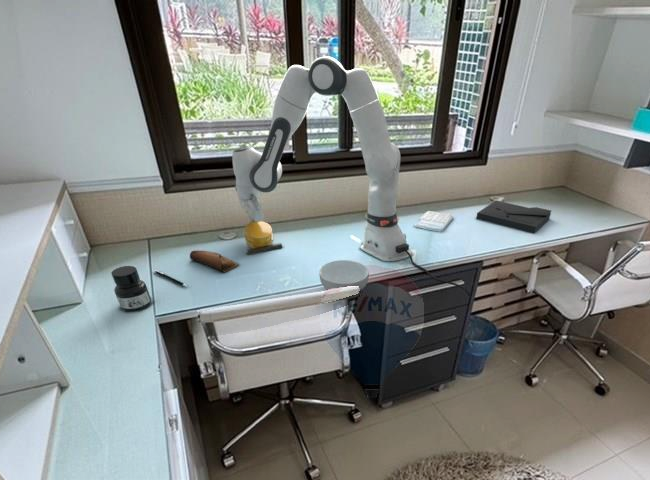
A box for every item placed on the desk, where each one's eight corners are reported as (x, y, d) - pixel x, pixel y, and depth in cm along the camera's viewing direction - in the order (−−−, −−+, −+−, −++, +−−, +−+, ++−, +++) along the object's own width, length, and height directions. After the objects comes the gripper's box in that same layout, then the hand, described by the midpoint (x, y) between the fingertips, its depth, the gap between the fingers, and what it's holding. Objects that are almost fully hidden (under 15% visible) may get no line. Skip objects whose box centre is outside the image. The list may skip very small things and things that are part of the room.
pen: (155, 271, 147) (154, 268, 146) (188, 286, 138) (187, 284, 138) (153, 272, 146) (152, 269, 146) (186, 287, 138) (185, 285, 137)
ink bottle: (118, 314, 124) (104, 280, 117) (120, 300, 131) (106, 267, 124) (153, 308, 128) (141, 274, 120) (153, 294, 134) (141, 262, 127)
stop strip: (282, 247, 166) (281, 244, 165) (248, 254, 160) (247, 251, 159) (280, 246, 167) (280, 242, 166) (247, 253, 161) (246, 249, 160)
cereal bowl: (350, 307, 131) (350, 288, 126) (310, 292, 138) (308, 274, 133) (377, 285, 142) (378, 267, 138) (339, 273, 149) (338, 255, 145)
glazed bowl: (277, 246, 166) (277, 235, 162) (250, 251, 162) (249, 241, 157) (267, 229, 172) (267, 218, 167) (241, 233, 167) (240, 223, 162)
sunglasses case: (240, 263, 152) (230, 252, 147) (229, 278, 150) (219, 267, 145) (207, 251, 160) (197, 241, 154) (197, 265, 158) (186, 255, 152)
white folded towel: (453, 218, 197) (453, 214, 196) (441, 232, 182) (441, 228, 181) (427, 213, 201) (427, 209, 200) (413, 227, 186) (413, 223, 185)
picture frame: (549, 218, 199) (494, 206, 212) (551, 210, 197) (496, 198, 210) (534, 233, 184) (476, 218, 197) (536, 224, 181) (477, 210, 194)
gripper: (265, 198, 153) (269, 232, 162) (249, 183, 167) (254, 215, 176) (248, 200, 151) (254, 235, 159) (233, 185, 165) (239, 218, 173)
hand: (253, 225), depth 167 cm, fingers closed
